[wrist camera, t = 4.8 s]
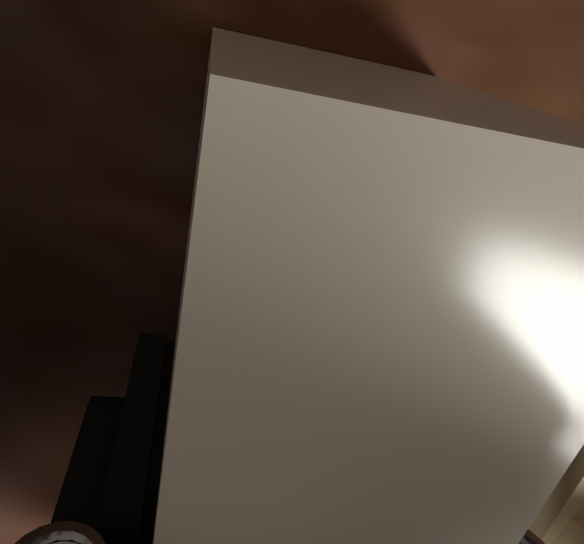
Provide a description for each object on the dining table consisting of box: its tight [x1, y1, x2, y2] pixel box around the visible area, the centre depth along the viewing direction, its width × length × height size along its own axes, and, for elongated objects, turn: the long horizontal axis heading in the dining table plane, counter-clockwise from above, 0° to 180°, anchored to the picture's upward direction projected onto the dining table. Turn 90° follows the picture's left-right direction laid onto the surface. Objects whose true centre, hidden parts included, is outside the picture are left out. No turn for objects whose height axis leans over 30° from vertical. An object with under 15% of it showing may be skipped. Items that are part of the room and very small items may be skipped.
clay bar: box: [152, 27, 584, 544], centre depth 9 cm, size 14×4×6 cm, turn 168°
